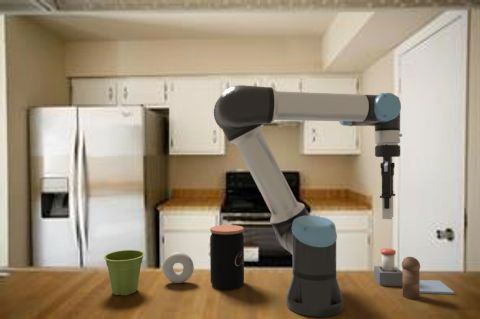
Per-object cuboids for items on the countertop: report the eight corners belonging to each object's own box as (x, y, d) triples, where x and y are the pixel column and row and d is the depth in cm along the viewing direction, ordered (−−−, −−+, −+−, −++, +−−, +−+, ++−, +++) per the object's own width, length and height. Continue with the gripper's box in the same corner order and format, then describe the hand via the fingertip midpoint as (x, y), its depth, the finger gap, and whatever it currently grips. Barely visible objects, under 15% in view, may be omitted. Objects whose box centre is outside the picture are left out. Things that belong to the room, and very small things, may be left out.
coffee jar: (240, 291, 110) (240, 232, 110) (206, 289, 112) (205, 230, 112) (247, 280, 121) (246, 225, 121) (215, 278, 123) (215, 224, 123)
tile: (418, 293, 108) (418, 290, 108) (406, 281, 118) (406, 279, 118) (454, 294, 107) (454, 292, 107) (439, 282, 117) (439, 280, 117)
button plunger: (382, 275, 116) (382, 251, 116) (379, 270, 120) (379, 248, 120) (397, 275, 115) (397, 252, 115) (393, 271, 119) (393, 248, 119)
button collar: (379, 285, 114) (379, 272, 114) (374, 278, 121) (374, 265, 121) (403, 286, 114) (403, 273, 114) (396, 278, 121) (396, 266, 121)
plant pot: (95, 295, 109) (94, 257, 109) (125, 282, 119) (124, 248, 119) (124, 302, 103) (124, 262, 103) (153, 288, 114) (152, 252, 114)
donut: (161, 285, 116) (161, 253, 116) (163, 281, 120) (163, 251, 120) (193, 284, 117) (193, 253, 117) (194, 280, 120) (194, 250, 120)
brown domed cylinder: (405, 299, 103) (404, 259, 103) (399, 293, 108) (399, 254, 108) (423, 300, 103) (422, 259, 103) (416, 293, 107) (416, 254, 107)
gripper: (398, 143, 108) (398, 223, 108) (401, 145, 123) (402, 214, 124) (371, 144, 111) (372, 221, 111) (378, 145, 127) (378, 212, 127)
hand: (387, 217), depth 117 cm, fingers open, 4 cm apart
